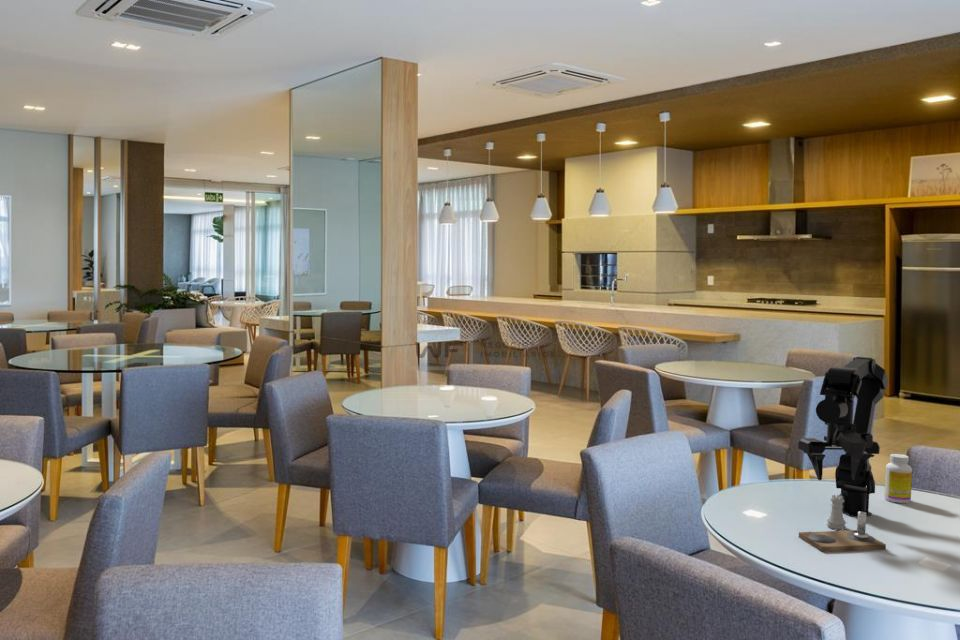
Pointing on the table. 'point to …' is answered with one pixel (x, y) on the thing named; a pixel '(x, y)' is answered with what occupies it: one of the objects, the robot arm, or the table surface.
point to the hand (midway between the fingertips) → (836, 479)
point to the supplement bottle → (898, 479)
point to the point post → (861, 526)
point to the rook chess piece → (836, 514)
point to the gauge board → (840, 541)
